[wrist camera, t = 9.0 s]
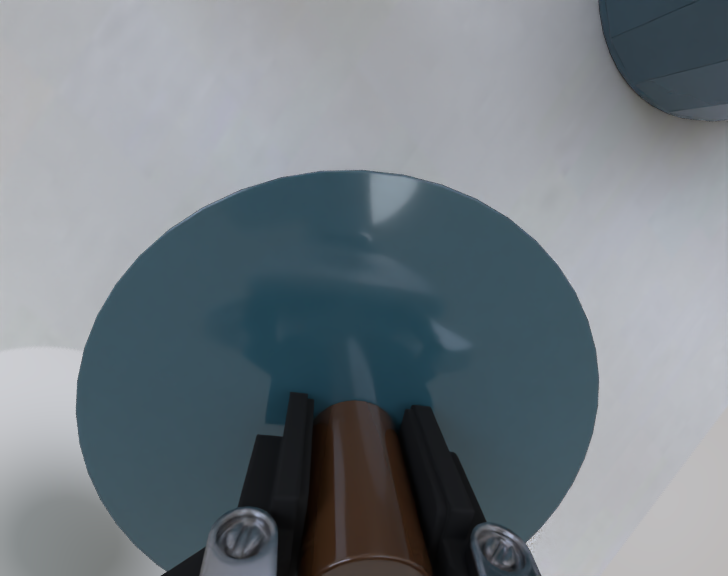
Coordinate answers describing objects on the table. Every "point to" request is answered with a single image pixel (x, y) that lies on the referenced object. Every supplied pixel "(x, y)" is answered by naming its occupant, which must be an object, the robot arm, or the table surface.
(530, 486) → the lid
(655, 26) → the pot
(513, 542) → the robot arm
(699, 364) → the table surface
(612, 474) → the table surface
